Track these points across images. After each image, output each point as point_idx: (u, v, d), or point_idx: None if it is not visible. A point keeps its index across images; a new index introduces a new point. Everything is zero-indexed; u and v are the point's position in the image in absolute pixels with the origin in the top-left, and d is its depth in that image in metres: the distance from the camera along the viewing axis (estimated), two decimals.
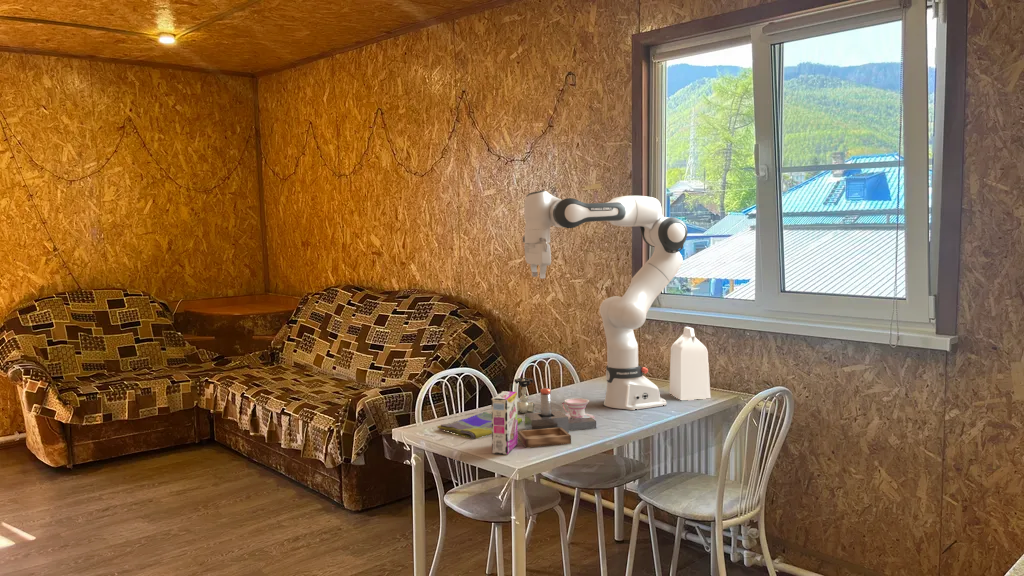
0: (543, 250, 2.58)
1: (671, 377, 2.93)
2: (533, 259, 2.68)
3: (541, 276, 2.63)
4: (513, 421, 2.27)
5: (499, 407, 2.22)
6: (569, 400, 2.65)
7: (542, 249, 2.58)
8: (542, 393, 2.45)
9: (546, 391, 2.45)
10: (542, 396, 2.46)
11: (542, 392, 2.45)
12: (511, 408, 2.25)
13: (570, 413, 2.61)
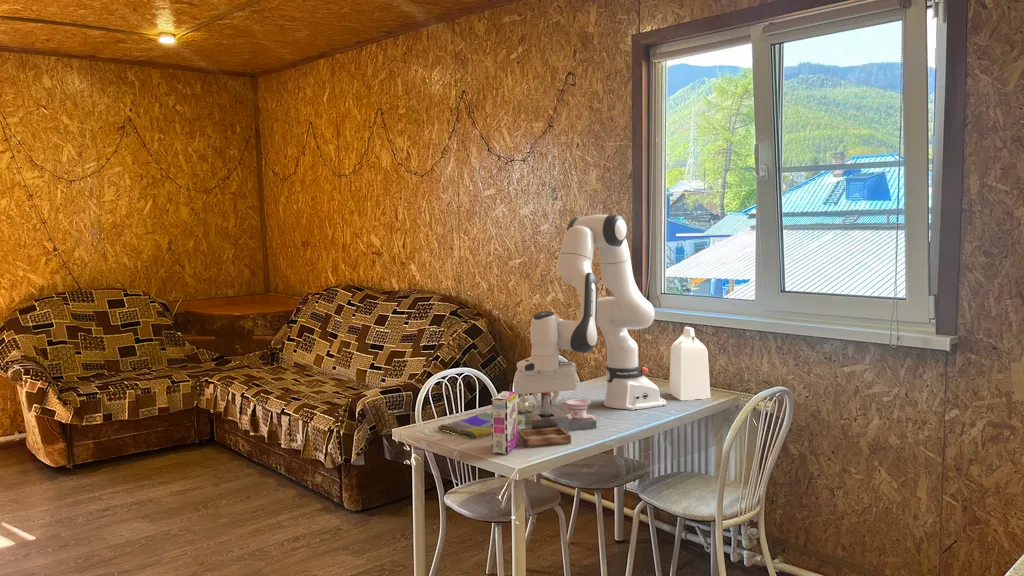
0: None
1: (671, 377, 2.93)
2: (547, 387, 2.45)
3: None
4: (513, 421, 2.27)
5: (499, 407, 2.22)
6: (571, 401, 2.63)
7: (574, 373, 2.47)
8: (542, 393, 2.45)
9: None
10: (542, 396, 2.46)
11: None
12: (511, 408, 2.25)
13: (572, 414, 2.60)
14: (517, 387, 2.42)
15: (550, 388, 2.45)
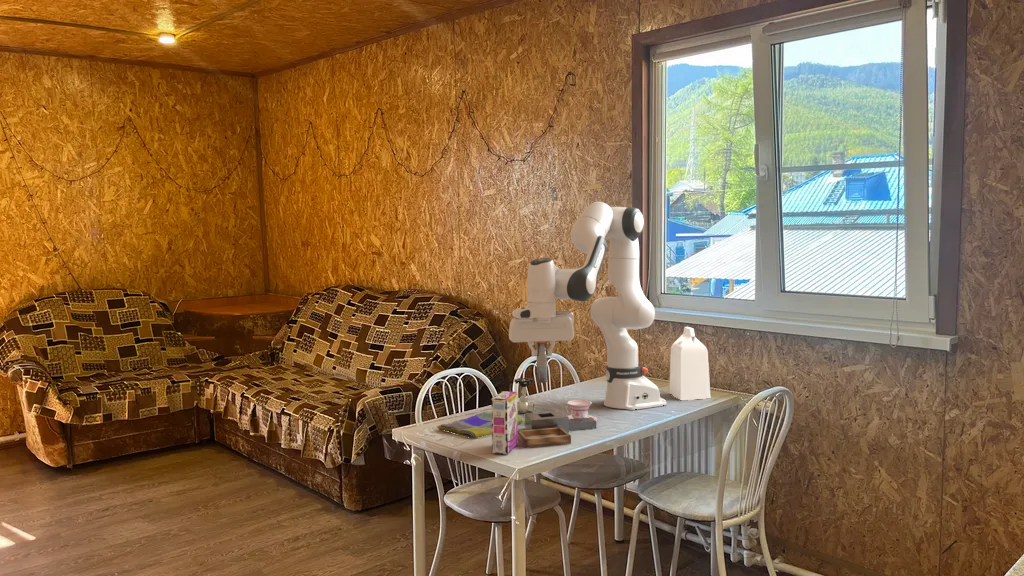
0: None
1: (671, 377, 2.93)
2: (543, 335, 2.37)
3: None
4: (513, 421, 2.27)
5: (499, 407, 2.22)
6: (572, 402, 2.62)
7: (572, 322, 2.39)
8: (538, 342, 2.37)
9: None
10: (538, 345, 2.38)
11: None
12: (511, 408, 2.25)
13: (573, 415, 2.58)
14: (512, 335, 2.34)
15: (546, 337, 2.37)
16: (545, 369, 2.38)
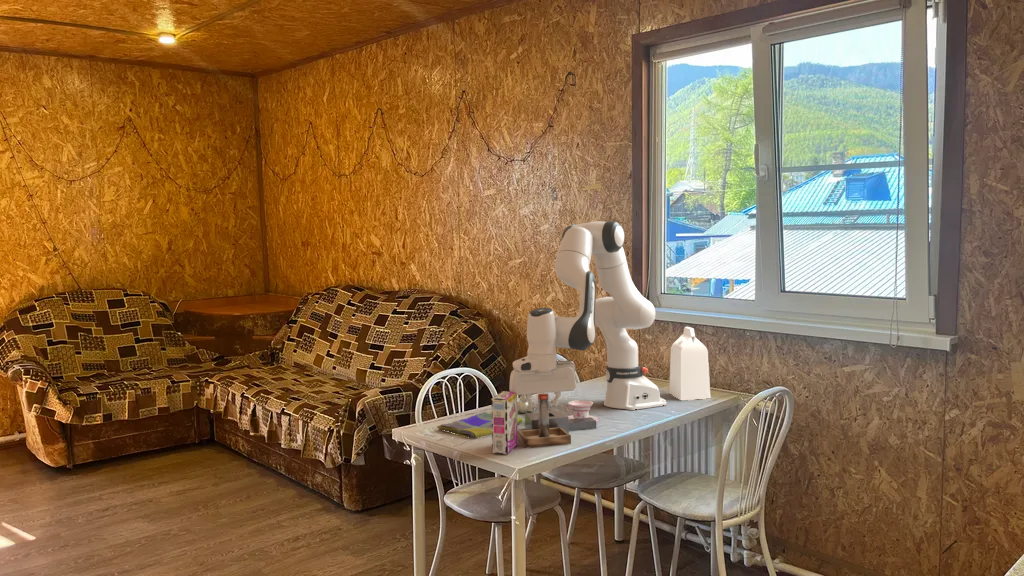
0: None
1: (671, 377, 2.93)
2: (544, 387, 2.32)
3: None
4: (513, 421, 2.27)
5: (499, 407, 2.22)
6: (573, 402, 2.62)
7: (573, 372, 2.35)
8: (539, 398, 2.34)
9: (544, 396, 2.34)
10: (539, 401, 2.34)
11: (539, 397, 2.34)
12: (511, 408, 2.25)
13: (574, 415, 2.58)
14: (513, 388, 2.30)
15: (548, 389, 2.33)
16: (547, 425, 2.34)
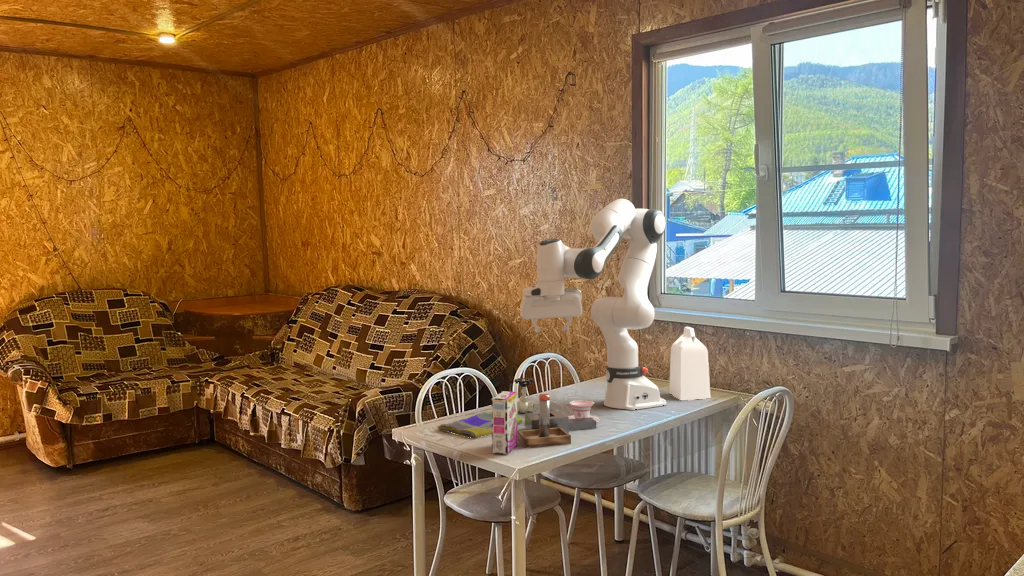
0: None
1: (671, 377, 2.93)
2: (553, 312, 2.49)
3: None
4: (513, 421, 2.27)
5: (499, 407, 2.22)
6: (574, 402, 2.62)
7: None
8: (541, 399, 2.33)
9: (545, 397, 2.33)
10: (540, 402, 2.33)
11: (541, 398, 2.33)
12: (511, 408, 2.25)
13: (575, 415, 2.58)
14: (524, 312, 2.46)
15: (556, 314, 2.49)
16: (547, 426, 2.34)
